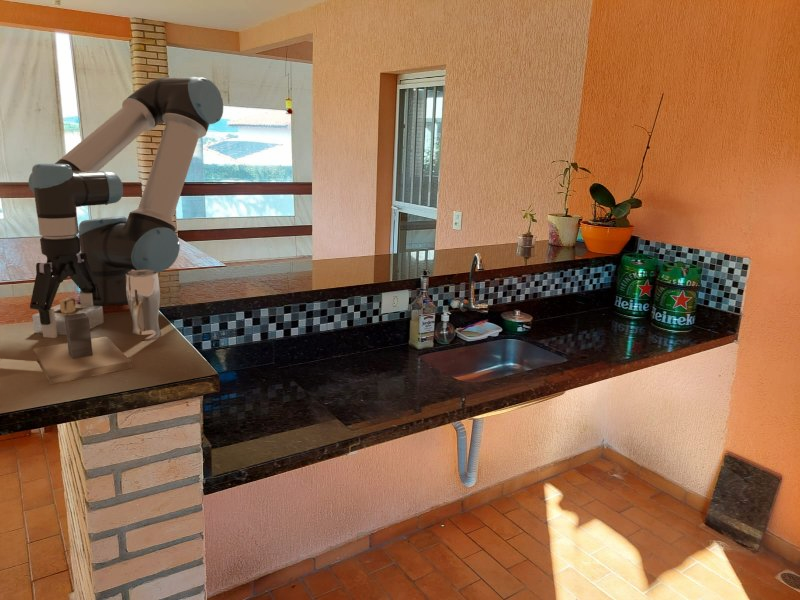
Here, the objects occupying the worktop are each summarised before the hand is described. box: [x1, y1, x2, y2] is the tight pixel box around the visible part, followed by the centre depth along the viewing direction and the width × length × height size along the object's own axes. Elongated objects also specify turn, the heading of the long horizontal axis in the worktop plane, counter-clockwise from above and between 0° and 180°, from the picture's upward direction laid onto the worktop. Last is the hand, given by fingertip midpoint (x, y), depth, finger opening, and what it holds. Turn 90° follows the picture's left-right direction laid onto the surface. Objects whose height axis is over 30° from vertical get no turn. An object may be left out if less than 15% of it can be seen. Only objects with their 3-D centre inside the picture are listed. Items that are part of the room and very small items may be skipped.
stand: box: [58, 297, 76, 314], centre depth 134 cm, size 7×7×8 cm
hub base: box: [32, 313, 132, 385], centre depth 117 cm, size 14×18×10 cm
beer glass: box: [126, 270, 162, 342], centre depth 133 cm, size 7×7×15 cm
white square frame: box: [31, 303, 105, 336], centre depth 134 cm, size 10×10×4 cm
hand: (70, 328), depth 134 cm, fingers open, 13 cm apart
